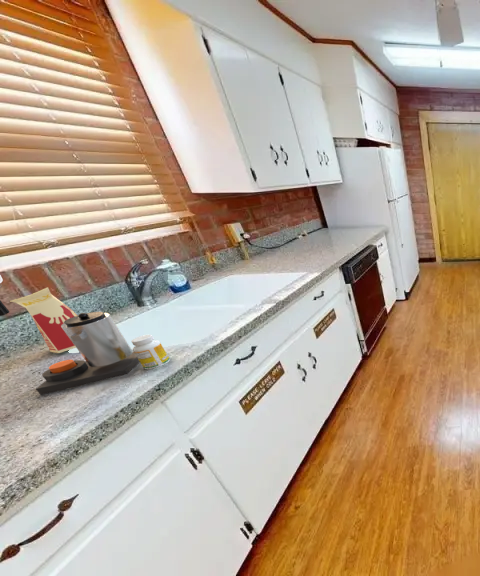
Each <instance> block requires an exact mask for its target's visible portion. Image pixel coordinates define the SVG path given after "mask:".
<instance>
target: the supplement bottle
mask: <svg viewBox="0 0 480 576" xmlns="http://www.w3.org/2000/svg"><path fill="white" fill-rule="evenodd" d="M131 343H132V345H133V348H132V351H133V352H134V353H135V355H136V357H137V358H138V360H139V361H140V363H139V364H140V365H141V366H142V368H143V369H144V370H152V369H156V368H158V367H162V366H164V365H166V364H167V363H169V362H170V361H171V358H170V357H169V355H168V353H167V351H166V350H165V348H164V347H163V345H162V343H161V341H159V340H158V339H155V337H154V336H153V335H152V334H143V335H139V336H137V337H135V338H133V339H131Z"/></svg>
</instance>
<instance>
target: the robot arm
mask: <svg viewBox="0 0 480 576" xmlns="http://www.w3.org/2000/svg"><path fill="white" fill-rule="evenodd" d="M3 281H4V279H3V277H2V275H1V274H0V289H1V288H2V287H3V285H2V283H3ZM7 314H10V310H9V309H8V307H7V306H6V305H5V304H4V303H3V302H2V300H0V317H3V316H5V315H7Z"/></svg>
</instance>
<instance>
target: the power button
mask: <svg viewBox="0 0 480 576" xmlns="http://www.w3.org/2000/svg"><path fill="white" fill-rule="evenodd" d="M74 361H75V360H74V359H65V360H61V361H57V362H55V363H53V364H51V365H50V366H48V369H50V371H51V372H52V373H60V372H63V371H66V370H69V369H71V368H73V367H75V366H77V365H76V363H75V362H74Z"/></svg>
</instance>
